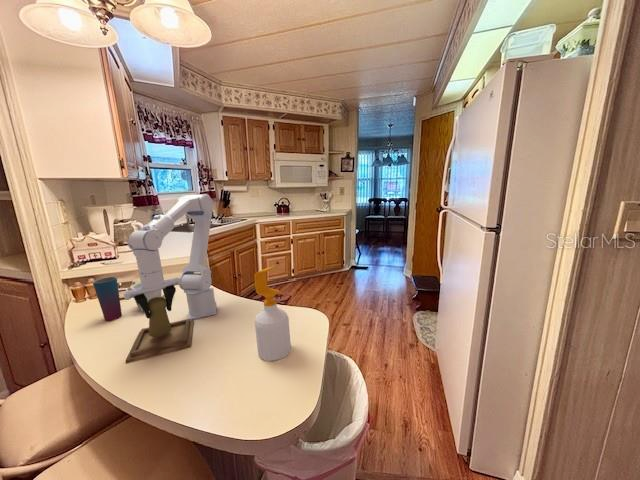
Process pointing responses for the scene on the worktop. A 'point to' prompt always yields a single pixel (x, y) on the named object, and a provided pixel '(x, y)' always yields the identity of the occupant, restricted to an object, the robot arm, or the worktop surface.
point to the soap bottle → (271, 323)
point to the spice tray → (162, 341)
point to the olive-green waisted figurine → (158, 317)
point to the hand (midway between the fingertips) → (159, 313)
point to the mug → (148, 295)
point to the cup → (108, 297)
